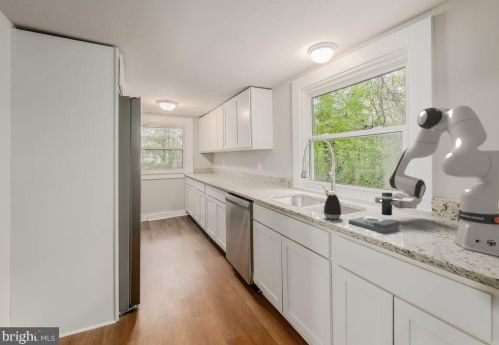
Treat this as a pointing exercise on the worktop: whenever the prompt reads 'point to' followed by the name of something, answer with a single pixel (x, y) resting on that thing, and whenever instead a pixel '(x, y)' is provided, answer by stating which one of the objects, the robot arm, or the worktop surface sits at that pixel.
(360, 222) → the mount
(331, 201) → the pump dispenser
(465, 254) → the worktop surface
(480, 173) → the robot arm
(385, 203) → the lens
